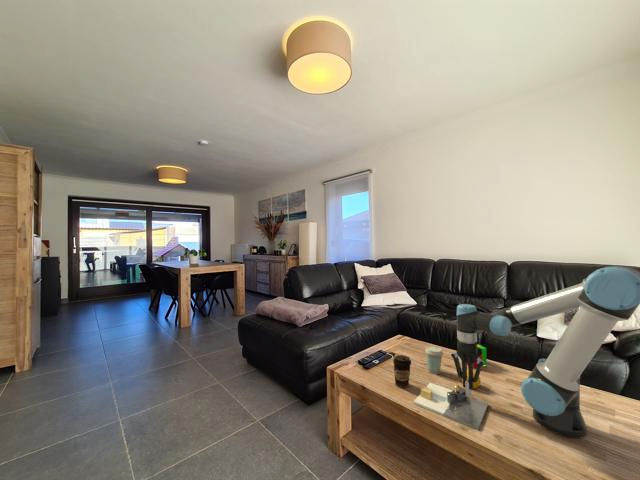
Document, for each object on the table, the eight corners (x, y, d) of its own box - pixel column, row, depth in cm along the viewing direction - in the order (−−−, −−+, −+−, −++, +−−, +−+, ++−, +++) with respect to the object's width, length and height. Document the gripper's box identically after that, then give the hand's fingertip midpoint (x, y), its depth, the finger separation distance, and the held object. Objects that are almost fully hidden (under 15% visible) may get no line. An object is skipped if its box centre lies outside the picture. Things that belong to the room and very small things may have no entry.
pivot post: (455, 404, 112) (455, 393, 112) (453, 407, 110) (453, 396, 110) (448, 401, 114) (448, 391, 114) (446, 404, 112) (446, 393, 112)
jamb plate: (488, 405, 111) (488, 402, 111) (478, 430, 96) (478, 427, 96) (457, 394, 119) (457, 392, 119) (443, 416, 104) (443, 413, 104)
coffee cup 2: (441, 377, 134) (441, 353, 135) (423, 372, 139) (423, 349, 139) (443, 370, 142) (443, 347, 142) (426, 366, 146) (426, 344, 146)
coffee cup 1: (412, 390, 122) (412, 362, 122) (393, 388, 124) (393, 361, 124) (410, 381, 130) (410, 354, 131) (392, 379, 132) (392, 353, 132)
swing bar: (457, 401, 112) (457, 389, 112) (450, 398, 114) (450, 385, 114) (469, 395, 116) (469, 383, 116) (462, 392, 119) (462, 380, 119)
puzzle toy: (457, 360, 153) (457, 343, 153) (471, 358, 156) (471, 341, 156) (472, 368, 144) (472, 350, 144) (486, 366, 147) (486, 348, 147)
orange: (484, 390, 122) (484, 374, 122) (467, 390, 122) (467, 374, 122) (474, 381, 130) (474, 366, 130) (458, 381, 130) (458, 366, 130)
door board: (457, 394, 119) (457, 385, 119) (443, 416, 104) (443, 405, 104) (430, 384, 127) (430, 376, 127) (413, 403, 112) (413, 394, 112)
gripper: (448, 339, 117) (449, 393, 116) (481, 347, 107) (482, 405, 107) (454, 335, 122) (455, 386, 121) (486, 342, 113) (487, 398, 112)
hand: (468, 395), depth 114 cm, fingers closed
